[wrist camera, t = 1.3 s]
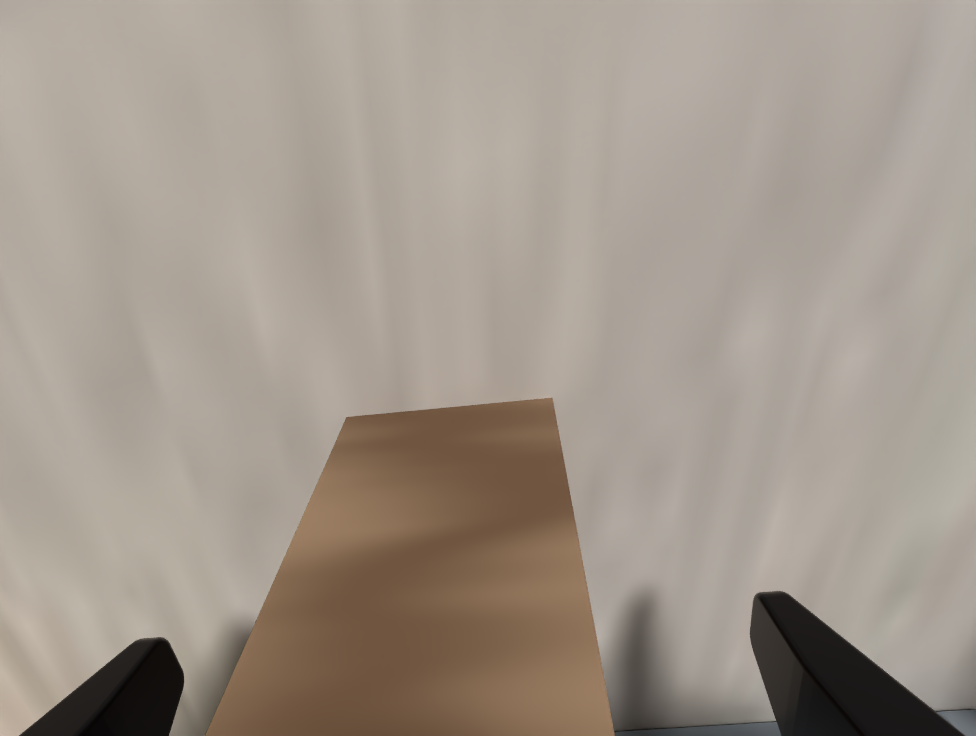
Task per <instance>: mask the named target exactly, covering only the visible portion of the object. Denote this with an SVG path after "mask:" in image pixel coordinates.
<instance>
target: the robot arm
mask: <svg viewBox="0 0 976 736" xmlns="http://www.w3.org/2000/svg"><path fill="white" fill-rule="evenodd" d="M750 639H751V644H752V648H753V652H754V655H755V658H756V661H757V664H758V667H759V670H760V673H761V676H762V679H763V682H764V685H765V688H766V691H767V694H768V697H769V700H770V703H771V706H772V709H773V712H774V715H775V718H776V721H777V724H778V727H779V731H780V734H781V736H965V735H964V734H963V733H962V732H960V731H959V730H958V729H957V728H955V727H954V726H953V725H952V724H950V723H949V722H948V721H947V720H945V719H944V718H943V717H942V716H940V715H939V714H938V713H937V712H935V711H934V710H933V709H932V708H930V707H929V706H928V705H927V704H925V703H924V702H923V701H922V700H920V699H919V698H918V697H917V696H915V695H914V694H913V693H912V692H910V691H909V690H908V689H907V688H905V687H904V686H903V685H902V684H900V683H899V682H898V681H897V680H895V679H894V678H893V677H892V676H890V675H889V674H888V673H887V672H885V671H884V670H883V669H882V668H880V667H879V666H878V665H877V664H875V663H874V662H873V661H872V660H870V659H869V658H868V657H867V656H865V655H864V654H863V653H862V652H860V651H859V650H858V649H857V648H855V647H854V646H853V645H852V644H850V643H849V642H848V641H846V640H845V639H844V638H843V637H841V636H840V635H839V634H838V633H836V632H835V631H834V630H833V629H831V628H830V627H829V626H828V625H826V624H825V623H824V622H823V621H821V620H820V619H819V618H818V617H816V616H815V615H814V614H813V613H811V612H810V611H809V610H808V609H806V608H805V607H804V606H803V605H801V604H800V603H799V602H798V601H796V600H795V599H794V598H793V597H791V596H790V595H789V594H787V593H785V592H782V591H773V592H760V593H757V594H756V595H755V597H754V599H753V607H752V617H751V626H750ZM183 686H184V673H183V670H182V668H181V666H180V664H179V661H178V659H177V657H176V655H175V653H174V651H173V649H172V647H171V645H170V643H169V641H168V640H166V639H165V638H162V637H157V638H144V639H139V640H137V641H135V642H133V643H132V644H131V645H129V646H128V647H127V648H126V649H124V650H123V651H122V652H121V653H120V654H118V655H117V656H116V657H115V658H113V659H112V660H111V661H110V662H109V663H107V664H106V665H105V666H104V667H102V668H101V669H100V670H99V671H98V672H96V673H95V674H94V675H93V676H91V677H90V678H89V679H88V680H87V681H85V682H84V683H83V684H82V685H80V686H79V687H78V688H77V689H76V690H74V691H73V692H72V693H71V694H69V695H68V696H67V697H66V698H65V699H63V700H62V701H61V702H60V703H58V704H57V705H56V706H55V707H54V708H52V709H51V710H50V711H49V712H47V713H46V714H45V715H44V716H43V717H41V718H40V719H39V720H38V721H36V722H35V723H34V724H33V725H32V726H30V727H29V728H28V729H27V730H25V731H24V732H23V733H22V734H21V735H19V736H169V733H170V730H171V727H172V724H173V720H174V717H175V714H176V710H177V707H178V704H179V701H180V697H181V694H182V691H183Z"/></svg>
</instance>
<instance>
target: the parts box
mask: <svg viewBox="0 0 976 736" xmlns="http://www.w3.org/2000/svg"><path fill="white" fill-rule="evenodd" d="M937 713H938V714H939V715H940V716H942V717H943V718H944V719H945V720H947V721H948V722H949V723H950V724H952V725H953V726H954V727H955V728H957V729H958V730H959V731H960V732H962V733H963V734H964V735H965V736H976V709H973V710H957V711H941V712H937ZM614 734H615V736H781V734H780V731H779V727H778V724H777V722H765V723H749V724H733V725H717V726H701V727H685V728H669V729H653V730H637V731H621V732H614Z"/></svg>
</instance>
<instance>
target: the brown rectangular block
mask: <svg viewBox="0 0 976 736" xmlns="http://www.w3.org/2000/svg"><path fill="white" fill-rule="evenodd" d="M205 736H615V734H614V729H613V723H612V718H611V712H610V707H609V702H608V696H607V691H606V685H605V680H604V675H603V669H602V664H601V658H600V653H599V648H598V642H597V637H596V631H595V626H594V621H593V615H592V610H591V604H590V599H589V594H588V588H587V583H586V577H585V572H584V567H583V561H582V556H581V550H580V545H579V540H578V534H577V529H576V523H575V518H574V513H573V507H572V502H571V496H570V491H569V486H568V480H567V475H566V469H565V464H564V459H563V453H562V448H561V442H560V437H559V432H558V426H557V421H556V415H555V410H554V405H553V399H552V398H545V399H534V400H524V401H513V402H502V403H492V404H481V405H471V406H460V407H450V408H439V409H428V410H418V411H407V412H397V413H386V414H375V415H365V416H354V417H347V418H346V420H345V422H344V424H343V427H342V429H341V431H340V433H339V436H338V438H337V440H336V442H335V445H334V447H333V449H332V451H331V454H330V456H329V458H328V460H327V463H326V465H325V467H324V469H323V472H322V474H321V476H320V478H319V481H318V483H317V485H316V487H315V490H314V492H313V494H312V496H311V499H310V501H309V503H308V505H307V508H306V510H305V512H304V514H303V517H302V519H301V521H300V523H299V526H298V528H297V530H296V532H295V535H294V537H293V539H292V541H291V544H290V546H289V548H288V550H287V553H286V555H285V557H284V559H283V562H282V564H281V566H280V568H279V571H278V573H277V575H276V577H275V580H274V582H273V584H272V586H271V589H270V591H269V593H268V595H267V598H266V600H265V602H264V604H263V607H262V609H261V611H260V613H259V616H258V618H257V620H256V622H255V625H254V627H253V629H252V631H251V634H250V636H249V638H248V640H247V643H246V645H245V647H244V649H243V652H242V654H241V656H240V658H239V661H238V663H237V665H236V667H235V670H234V672H233V674H232V676H231V679H230V681H229V683H228V685H227V688H226V690H225V692H224V694H223V697H222V699H221V701H220V703H219V706H218V708H217V710H216V712H215V715H214V717H213V719H212V721H211V724H210V726H209V728H208V730H207V733H206V735H205Z"/></svg>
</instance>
